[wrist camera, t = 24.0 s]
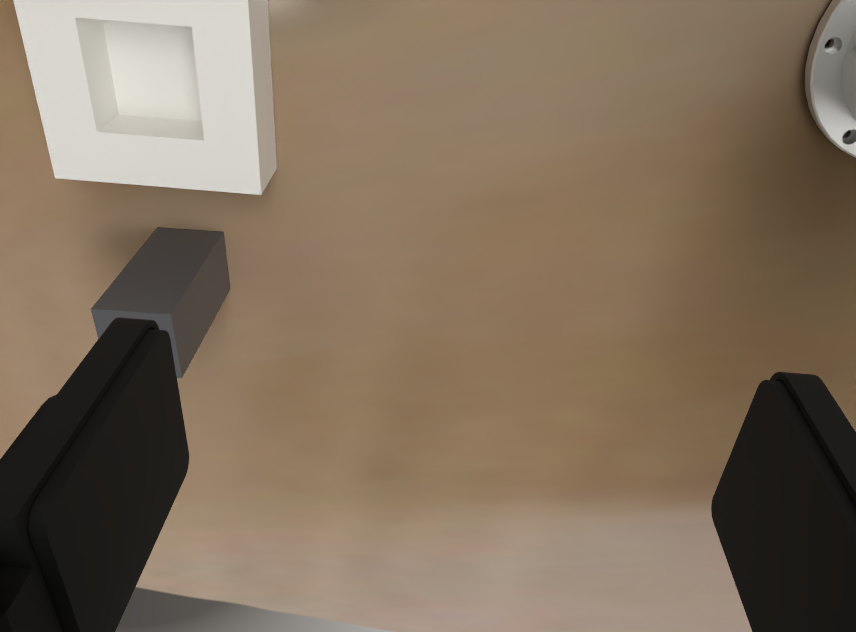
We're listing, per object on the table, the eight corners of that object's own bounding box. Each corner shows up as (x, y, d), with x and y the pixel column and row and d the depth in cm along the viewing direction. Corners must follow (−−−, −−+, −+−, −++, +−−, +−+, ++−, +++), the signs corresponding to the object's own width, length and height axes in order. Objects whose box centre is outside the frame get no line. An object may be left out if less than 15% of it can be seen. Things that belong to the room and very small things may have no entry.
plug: (223, 231, 48) (170, 314, 39) (230, 288, 50) (182, 377, 42) (157, 227, 48) (90, 309, 39) (167, 284, 50) (106, 372, 42)
